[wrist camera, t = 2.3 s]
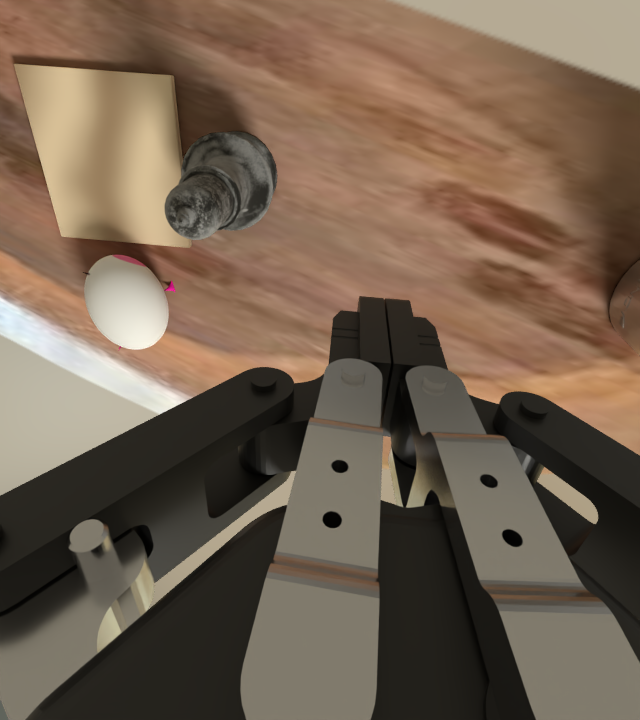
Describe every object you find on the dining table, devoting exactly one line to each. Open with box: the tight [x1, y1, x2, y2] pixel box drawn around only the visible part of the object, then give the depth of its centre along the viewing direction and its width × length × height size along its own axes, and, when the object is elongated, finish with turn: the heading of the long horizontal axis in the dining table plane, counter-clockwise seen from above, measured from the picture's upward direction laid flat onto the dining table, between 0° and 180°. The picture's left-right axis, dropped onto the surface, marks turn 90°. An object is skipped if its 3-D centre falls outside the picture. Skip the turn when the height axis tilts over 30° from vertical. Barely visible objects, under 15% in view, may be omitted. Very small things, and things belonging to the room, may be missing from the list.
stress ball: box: [83, 255, 175, 351], centre depth 34 cm, size 8×8×7 cm
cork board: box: [14, 64, 192, 248], centre depth 30 cm, size 10×11×1 cm
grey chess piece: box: [164, 131, 277, 240], centre depth 25 cm, size 6×6×12 cm
